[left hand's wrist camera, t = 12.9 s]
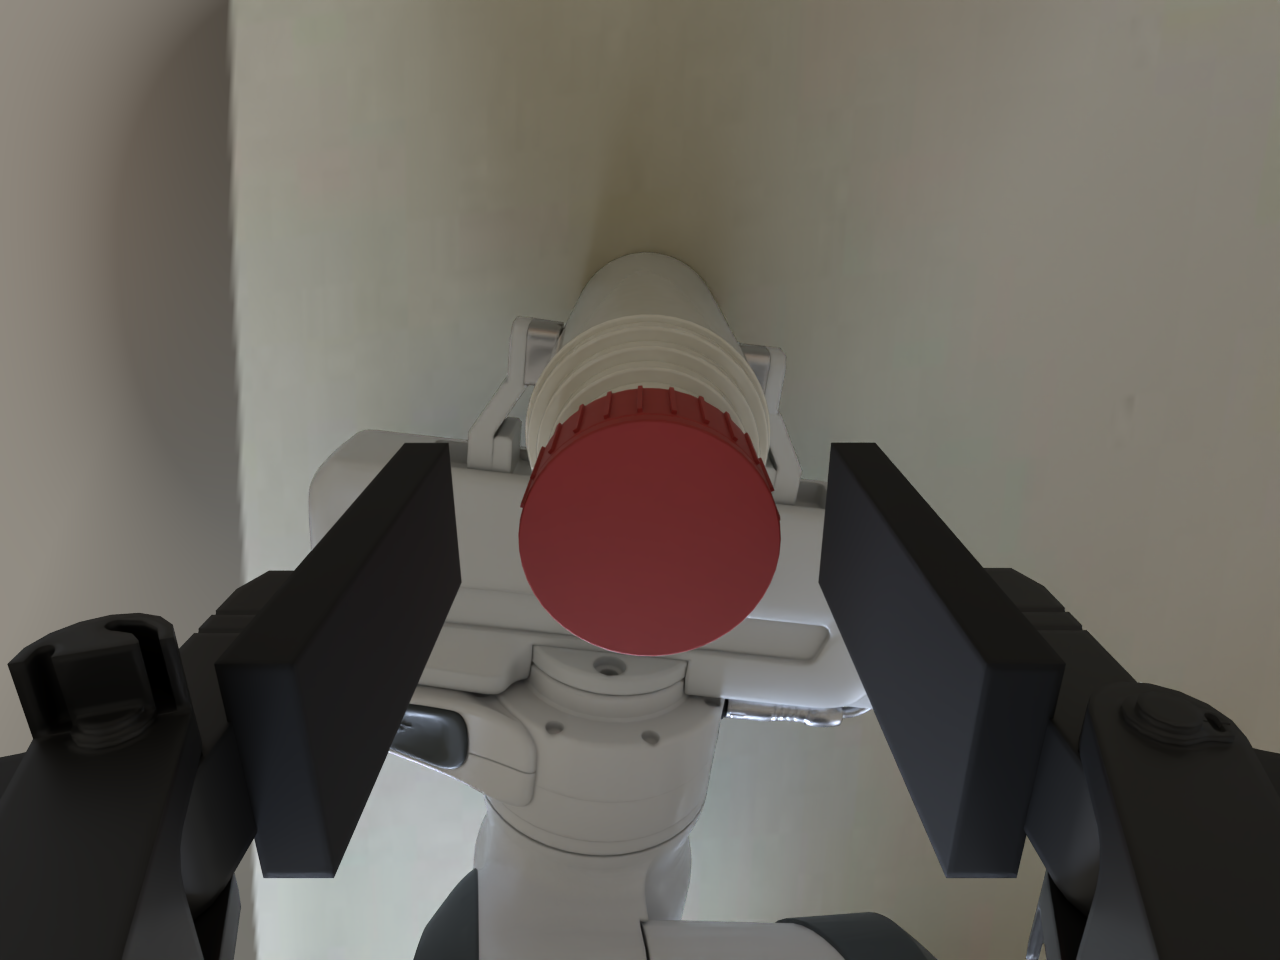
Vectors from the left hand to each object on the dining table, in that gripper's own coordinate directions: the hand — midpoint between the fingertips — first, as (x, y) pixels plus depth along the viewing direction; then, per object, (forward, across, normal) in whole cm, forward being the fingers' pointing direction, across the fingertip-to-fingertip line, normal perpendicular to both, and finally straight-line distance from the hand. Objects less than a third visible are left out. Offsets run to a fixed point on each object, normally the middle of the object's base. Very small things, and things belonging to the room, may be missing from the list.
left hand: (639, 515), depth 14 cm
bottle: (+18, 0, 0) cm, 18 cm away
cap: (-1, 0, 0) cm, 1 cm away
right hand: (+12, 0, -1) cm, 12 cm away
